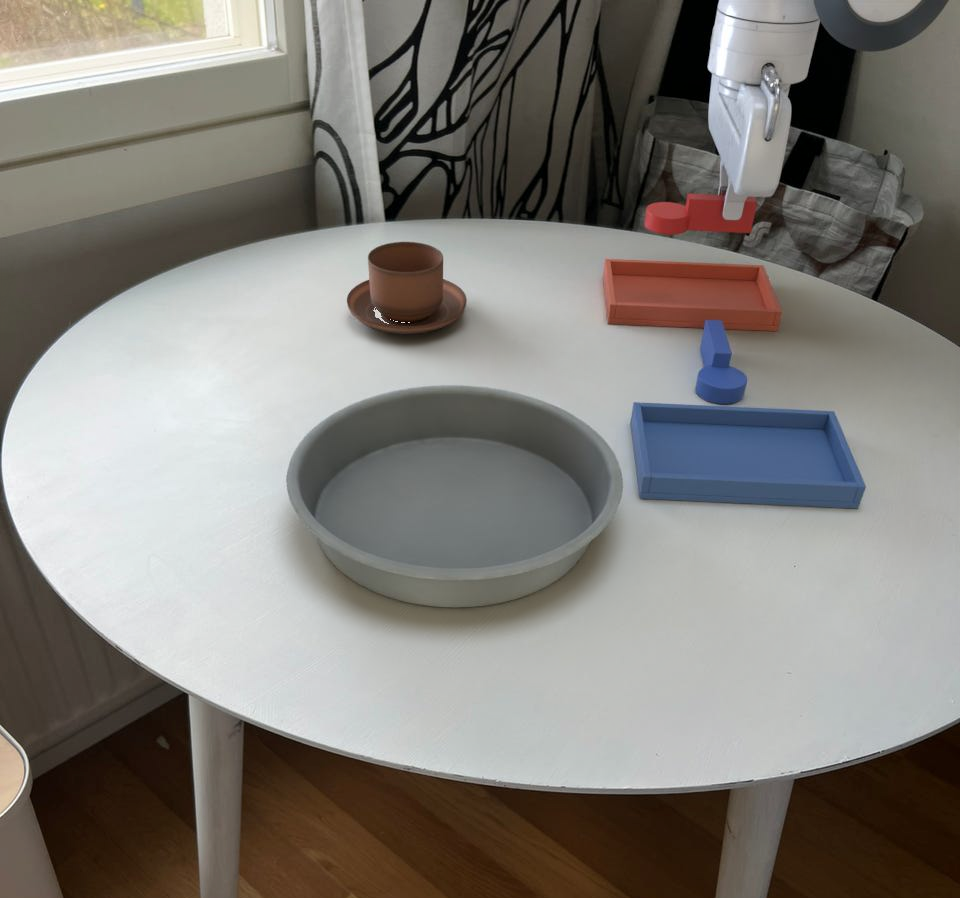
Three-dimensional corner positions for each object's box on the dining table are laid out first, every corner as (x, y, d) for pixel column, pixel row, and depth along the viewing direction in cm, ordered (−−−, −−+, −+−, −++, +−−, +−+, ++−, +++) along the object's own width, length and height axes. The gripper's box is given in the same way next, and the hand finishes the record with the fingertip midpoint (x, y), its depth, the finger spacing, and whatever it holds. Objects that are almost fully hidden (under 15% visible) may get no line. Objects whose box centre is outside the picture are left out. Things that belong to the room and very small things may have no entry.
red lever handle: (746, 221, 96) (752, 191, 94) (752, 239, 93) (759, 207, 91) (642, 217, 97) (647, 186, 94) (645, 233, 93) (650, 202, 91)
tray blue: (827, 432, 83) (834, 410, 81) (858, 508, 75) (866, 486, 73) (630, 423, 83) (633, 401, 82) (639, 498, 75) (643, 476, 74)
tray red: (759, 284, 104) (763, 265, 103) (777, 331, 96) (782, 311, 95) (602, 277, 104) (604, 258, 103) (607, 324, 96) (610, 304, 95)
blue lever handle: (685, 347, 93) (690, 318, 91) (730, 349, 93) (736, 320, 91) (698, 403, 86) (704, 373, 84) (747, 405, 86) (754, 375, 84)
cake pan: (660, 603, 66) (671, 552, 63) (305, 647, 62) (297, 595, 59) (567, 418, 83) (572, 371, 80) (284, 443, 79) (277, 395, 76)
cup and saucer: (323, 320, 96) (317, 259, 91) (401, 281, 103) (398, 223, 98) (414, 357, 91) (413, 294, 86) (490, 313, 97) (491, 253, 93)
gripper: (821, 85, 77) (779, 256, 86) (776, 25, 91) (744, 177, 101) (743, 81, 77) (709, 253, 86) (710, 22, 91) (685, 174, 101)
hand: (728, 211), depth 94 cm, fingers closed on red lever handle
